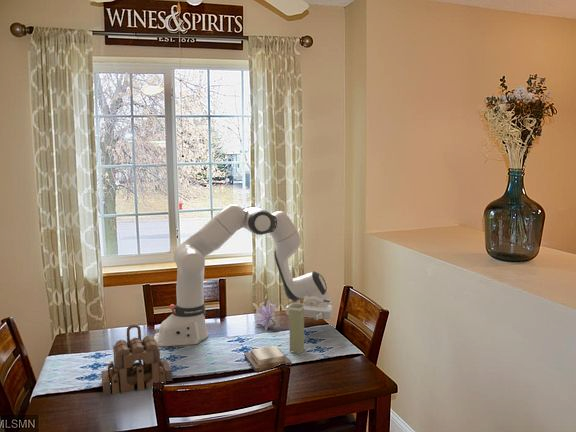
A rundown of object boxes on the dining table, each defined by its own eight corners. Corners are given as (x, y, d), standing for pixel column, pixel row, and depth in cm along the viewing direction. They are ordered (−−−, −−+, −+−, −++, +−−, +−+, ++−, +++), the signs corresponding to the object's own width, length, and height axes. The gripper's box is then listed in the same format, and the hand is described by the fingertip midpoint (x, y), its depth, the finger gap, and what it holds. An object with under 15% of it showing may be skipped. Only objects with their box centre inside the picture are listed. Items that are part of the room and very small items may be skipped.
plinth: (255, 371, 175) (255, 363, 175) (244, 356, 188) (244, 348, 188) (291, 365, 180) (291, 356, 180) (278, 350, 193) (278, 343, 193)
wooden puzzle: (104, 398, 157) (101, 342, 155) (101, 379, 171) (98, 327, 168) (173, 384, 166) (171, 331, 164) (165, 367, 180) (163, 318, 177)
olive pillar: (289, 351, 193) (289, 307, 190) (293, 347, 197) (293, 303, 194) (300, 353, 191) (300, 308, 189) (304, 348, 195) (304, 304, 193)
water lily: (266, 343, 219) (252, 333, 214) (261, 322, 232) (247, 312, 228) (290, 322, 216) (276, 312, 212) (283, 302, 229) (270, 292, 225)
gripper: (291, 297, 219) (280, 307, 206) (336, 302, 212) (328, 312, 199) (291, 311, 220) (280, 321, 207) (336, 316, 213) (328, 327, 200)
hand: (304, 316), depth 203 cm, fingers open, 8 cm apart
